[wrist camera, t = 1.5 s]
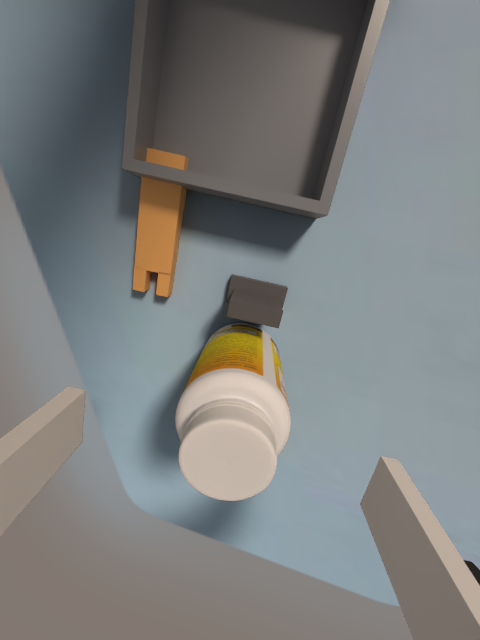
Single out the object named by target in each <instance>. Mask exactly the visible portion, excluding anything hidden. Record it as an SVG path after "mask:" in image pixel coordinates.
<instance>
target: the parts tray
mask: <svg viewBox="0 0 480 640" xmlns="http://www.w3.org/2000/svg"><path fill="white" fill-rule="evenodd" d="M389 2H390V0H135V7H134V20H133V32H132V44H131V57H130V69H129V82H128V94H127V106H126V119H125V131H124V144H123V156H122V168H121V169H123V170H125V171H127V172H129V173H131V174H133V175H135V176H137V177H139V178H141V177H144V178H149V179H153V180H158V181H162V182H166V183H171V184H175V185H180V186H182V187H184V188H185V189H187V190H191V191H196V192H200V193H205V194H209V195H214V196H218V197H222V198H227V199H231V200H236V201H240V202H245V203H249V204H253V205H258V206H262V207H267V208H271V209H276V210H280V211H284V212H289V213H293V214H298V215H302V216H307V217H311V218H315V219H317V218H320V217H324V216H327V215H328V212H329V209H330V206H331V202H332V199H333V195H334V192H335V188H336V185H337V181H338V178H339V174H340V171H341V167H342V164H343V161H344V157H345V154H346V150H347V147H348V143H349V140H350V136H351V133H352V129H353V126H354V123H355V119H356V116H357V112H358V109H359V105H360V102H361V98H362V95H363V91H364V88H365V85H366V81H367V78H368V74H369V71H370V67H371V64H372V60H373V57H374V53H375V50H376V46H377V43H378V40H379V36H380V33H381V29H382V26H383V22H384V19H385V15H386V12H387V8H388V5H389ZM147 148H152V149H156V150H160V151H165V152H169V153H173V154H178V155H182V156H186V157H187V158H188V166H187V171H186V170H181V169H177V168H172V167H168V166H164V165H159V164H155V163H150V162H146V156H147Z"/></svg>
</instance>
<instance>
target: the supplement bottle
mask: <svg viewBox="0 0 480 640" xmlns="http://www.w3.org/2000/svg"><path fill="white" fill-rule="evenodd" d="M175 424H176V430H177V433H178V436H179V439H180V441H181V445H180V448H179V454H178V460H179V466H180V469H181V472H182V474H183V476H184V477H185V479H186V480H187V481H188V482H189V484H190V485H191V486H192V487H194V488H195V489H196V490H197V491H199V492H200V493H202V494H204V495H206V496H208V497H211V498H214V499H218V500H224V501H238V500H243V499H247V498H250V497H252V496H255V495H256V494H258V493H260V492H261V491H263V490H264V489H265V488H266V487H267V486H268V485H269V483H270V482H271V480H272V479H273V477H274V474H275V471H276V466H277V455H278V454H279V453H280V452H281V451H282V449H283V448H284V446H285V444H286V442H287V440H288V437H289V433H290V427H291V419H290V410H289V405H288V400H287V394H286V389H285V383H284V377H283V372H282V366H281V362H280V356H279V352H278V349H277V346H276V344H275V342H274V341H273V339H272V338H271V337H270V336H269V335H268V334H267V333H266V332H265V331H263V330H262V329H260V328H258V327H256V326H253V325H250V324H244V323H236V324H230V325H227V326H224V327H222V328H220V329H219V330H217V331H216V332H215V333H214V334H213V335H212V336H211V337H210V338H209V340H208V341H207V343H206V344H205V347H204V349H203V351H202V353H201V355H200V357H199V359H198V361H197V363H196V365H195V368H194V370H193V372H192V374H191V376H190V378H189V380H188V383H187V385H186V387H185V389H184V391H183V393H182V395H181V397H180V400H179V403H178V405H177V409H176V416H175Z"/></svg>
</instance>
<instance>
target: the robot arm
mask: <svg viewBox="0 0 480 640" xmlns="http://www.w3.org/2000/svg"><path fill="white" fill-rule="evenodd" d="M85 393H86V390H83V389H78V388H74V387H67V388H66V389H65V390H63V391H62V392H60V393H59V394H58V395H56V396H55V397H54V398H53V399H51V400H50V401H49V402H47V403H46V404H45V405H44V406H42V407H41V408H40V409H38V410H37V411H36V412H34V413H33V414H32V415H30V416H29V417H28V418H27V419H25V420H24V421H23V422H21V423H20V424H19V425H18V426H16V427H15V428H14V429H12V430H11V431H10V432H8V433H7V434H6V435H4V436H3V437H2V438H1V439H0V536H1V535H2V534H3V533H4V532H5V530H6V529H7V528H8V527H9V526H10V525H11V523H12V522H13V521H14V520H15V519H16V518H17V517H18V515H19V514H20V513H21V512H22V511H23V510H24V509H25V507H26V506H27V505H28V504H29V503H30V502H31V500H32V499H33V498H34V497H35V496H36V495H37V494H38V492H39V491H40V490H41V489H42V488H43V487H44V486H45V484H46V483H47V482H48V481H49V480H50V479H51V477H52V476H53V475H54V474H55V473H56V472H57V471H58V469H59V468H60V467H61V466H62V465H63V464H64V462H65V461H66V460H67V459H68V458H69V457H70V455H71V454H72V453H73V452H74V451H75V450H76V449H77V447H78V446H79V445H80V444H81V443H82V435H83V421H84V407H85ZM360 505H361V508H362V510H363V513H364V515H365V518H366V520H367V523H368V525H369V528H370V530H371V533H372V536H373V538H374V541H375V543H376V546H377V548H378V551H379V553H380V556H381V558H382V561H383V563H384V566H385V568H386V571H387V574H388V576H389V579H390V581H391V584H392V586H393V589H394V591H395V594H396V596H397V599H398V601H399V604H400V606H401V609H402V611H403V614H404V617H405V619H406V622H407V624H408V627H409V629H410V632H411V634H412V637H413V639H414V640H480V570H479V569H478V568H477V567H476V566H475V565H474V564H473V563H472V562H470V561H465V560H463V559H462V558H461V556H460V554H459V553H458V551H457V550H456V548H455V547H454V545H453V544H452V542H451V541H450V539H449V538H448V536H447V534H446V533H445V531H444V530H443V528H442V527H441V525H440V524H439V522H438V521H437V519H436V517H435V516H434V514H433V513H432V511H431V510H430V508H429V507H428V505H427V504H426V502H425V501H424V499H423V497H422V496H421V494H420V493H419V491H418V490H417V488H416V487H415V485H414V484H413V482H412V480H411V479H410V477H409V476H408V474H407V473H406V471H405V470H404V468H403V467H402V465H401V464H400V462H399V460H396V459H392V458H388V457H383V456H381V457H380V459H379V462H378V464H377V466H376V469H375V471H374V473H373V476H372V478H371V480H370V482H369V485H368V487H367V489H366V492H365V494H364V496H363V499H362V501H361V503H360Z"/></svg>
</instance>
